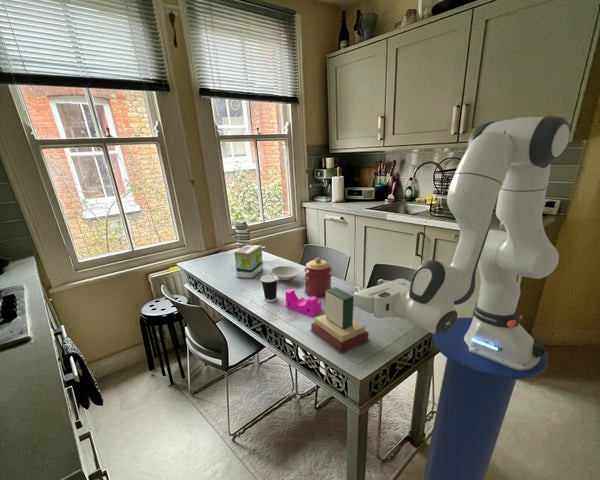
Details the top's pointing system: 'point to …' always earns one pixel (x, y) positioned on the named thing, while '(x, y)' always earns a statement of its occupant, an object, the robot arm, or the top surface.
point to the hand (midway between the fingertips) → (367, 285)
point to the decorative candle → (242, 234)
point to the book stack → (339, 333)
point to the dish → (285, 272)
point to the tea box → (248, 261)
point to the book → (339, 307)
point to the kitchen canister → (317, 277)
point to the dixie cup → (269, 287)
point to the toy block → (303, 303)
